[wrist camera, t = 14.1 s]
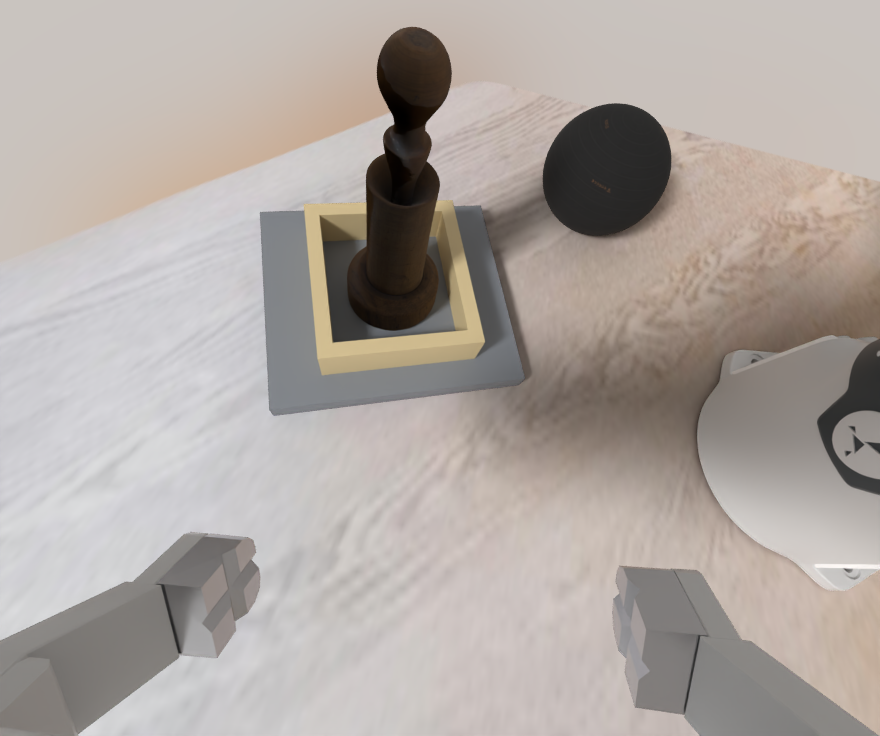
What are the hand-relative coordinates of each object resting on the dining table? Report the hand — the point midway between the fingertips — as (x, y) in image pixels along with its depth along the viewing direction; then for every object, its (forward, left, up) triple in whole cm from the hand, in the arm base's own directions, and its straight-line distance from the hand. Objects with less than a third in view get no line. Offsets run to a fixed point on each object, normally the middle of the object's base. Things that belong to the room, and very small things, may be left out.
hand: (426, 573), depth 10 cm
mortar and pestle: (-3, -18, -18) cm, 26 cm away
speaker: (-22, -26, -20) cm, 39 cm away
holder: (-3, -18, -20) cm, 27 cm away
